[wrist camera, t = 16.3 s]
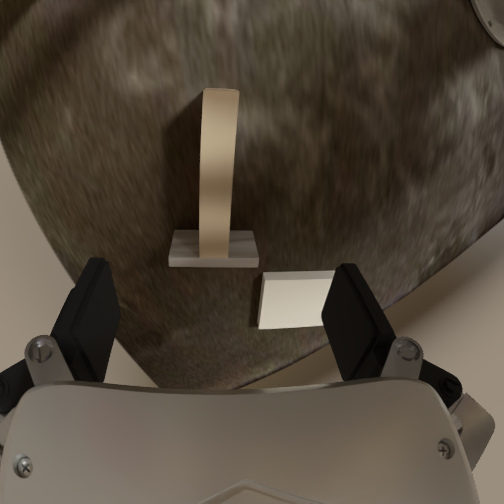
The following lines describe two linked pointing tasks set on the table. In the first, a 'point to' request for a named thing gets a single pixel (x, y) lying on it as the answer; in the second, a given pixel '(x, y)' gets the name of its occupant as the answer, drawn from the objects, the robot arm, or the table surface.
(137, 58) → the table surface
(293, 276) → the tile
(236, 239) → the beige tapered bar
